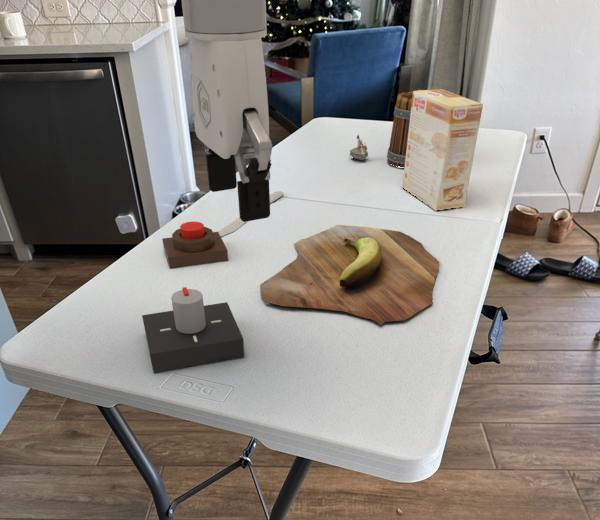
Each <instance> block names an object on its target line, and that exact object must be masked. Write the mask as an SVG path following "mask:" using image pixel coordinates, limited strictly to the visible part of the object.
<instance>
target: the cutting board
mask: <svg viewBox="0 0 600 520" xmlns="http://www.w3.org/2000/svg"><path fill="white" fill-rule="evenodd" d="M293 245H294V248H295V250H296V252H297V256H296V259H294V260H293V261H291V262H290V263H288V264H287V265H286V266H284V268H282V269H281V270H279V271H278V272H276V273H275V274H274V275H272V276H271V277H269V278H268V279H266V280H265V281H264V282H262V283H260V285H259V289H260V297H261V298H262V299H263V300H264V301H265V302H266V303H269V304H274V305H277V306H281V307H291V308H292V307H293V308H307V309H318V310H319V309H321V310H330V311H337V312H345V313H348V314H351V315H354V316H357V317H359V318H363V319H370V320H372V321H373V322H376V323H377V324H378V325H380V326H381V325H382V324H384V323H389V322H399V321H406V320H408V319H410V318H411V317H413V316H414V315H416V314H417V313H419V312H420V311H422V310H423V309H425V308H426V307H427V308H428V307H429V306H430V305H432V304H434V302H433V290H434V286H435V281H436V278H437V275H438V273H439V270H440V264H441V263H440V262H441V261H440V260H438V259H437V258H436V257H435V256H434V255H432V253H430V252H429V251H428V250H427V249H426V248H425V246H424V245H423V244H422V242H421V241H418V240H417V239H415V238H414V237H412V236H410V235H408V234H406V233H405V232H402V231H399V230H392V229H386V228H378V227H369V226H359V225H343V224H336V225H334V226H332V227H330V228H327V229H325V230H323V231H321V232H318V233H316V234H313V235H311V236H308V237H306V238H305V237H304V238H301V239H299V240H298V241H296V242H295V243H293Z"/></svg>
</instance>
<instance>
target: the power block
mask: <svg viewBox="0 0 600 520" xmlns="http://www.w3.org/2000/svg"><path fill="white" fill-rule="evenodd" d="M204 231H205V236H204V237H202V238H199V239H193V240H189V239H183V238H182V237H181V230H180V228H178V229H176V230H175V231H174V232H173V233H172V234H171V237H163V238H162V239H161V241H162V247H163V251H164V254H165V257H166V261H167V264H168V268H169V269H170V270H172V269H180V268H186V267H194V266H201V265H209V264H216V263H223V262H229V254H228V253H229V251H228V248H227V246H226V243H224V240H223V237H222V236H220V234H219V233H218V232H219V231H213V230H212V229H211V228H209V227H207V226H204Z"/></svg>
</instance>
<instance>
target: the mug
mask: <svg viewBox="0 0 600 520" xmlns="http://www.w3.org/2000/svg"><path fill="white" fill-rule="evenodd" d="M420 90H421V89H417V90H416V91H420ZM412 96H413V91H407V92H401V93H399V94H397V97H396V101H395V102H396V103H395V105H394V109H393V110H394V111H393V121H392V127H391V134H390V139H389V146H388V149H387V154H386V161H387V163H388V164H389V165H390V164H392V165H394V166H397V167H398V166H400V167H405V159H406V150H407V141H408V132H409V123H410V114H411V106H412Z"/></svg>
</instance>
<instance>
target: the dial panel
mask: <svg viewBox="0 0 600 520" xmlns="http://www.w3.org/2000/svg"><path fill="white" fill-rule="evenodd" d="M204 312H205V320H206V327H205V328H204V329H203V330H202V331H200V332H197V333H193V334H185V333H181V332H179V331H178V330H177V329H176V325H175V318H174V312H173V310H168V311H161V312H154V313H149V314H143V315H141V318H142V322H143V323H142V324H143V329H144V333H145V337H146V343H147V347H148V352H149V353H148V354H149V358H150V363H151V367H152V372H153V374H156V373H157V374H158V373H163V372H168V371H169V372H170V371H174V370H180V369H185V368H191V367H197V366H202V365H207V364H215V363H220V362H224V361H229V360H237V359H242V358H245V344H244V337H243V335H242V333H241V330H240V328H239V325H238V323H237V322H236V321H237V320H236V319H235V317H234V314H233V312H232V310H231V308H230V305H229V303H228V302H227V301H226V302H218V303H213V304H206V305H205V304H204Z"/></svg>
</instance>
